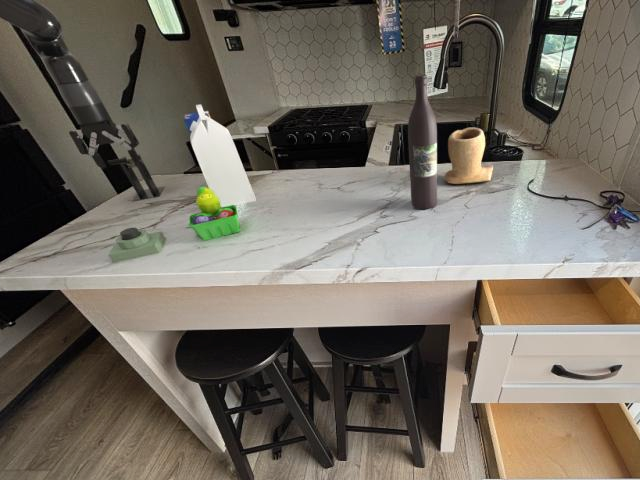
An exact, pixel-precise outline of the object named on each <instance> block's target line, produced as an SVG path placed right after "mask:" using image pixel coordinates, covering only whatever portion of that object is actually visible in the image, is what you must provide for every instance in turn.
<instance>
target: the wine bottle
mask: <svg viewBox="0 0 640 480" xmlns="http://www.w3.org/2000/svg"><path fill="white" fill-rule="evenodd" d="M428 83H429V79H428V77H427V74H418V75H415V77H414V85H415V101H414V103H413V107H412V109H411V112H410V114H409V118H408V122H407V123H408V124H407V141H408V162H409V181H410V183H409V185H410V203H411V206H412V207H413V208H414V209H418V210H429V209H432V208H434V207H436V206H437V204H438V125H437V124H438V123H437V118H436V115H435V112H434V110H433V108H432V106H431V104H430V101H429V97H428Z"/></svg>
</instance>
